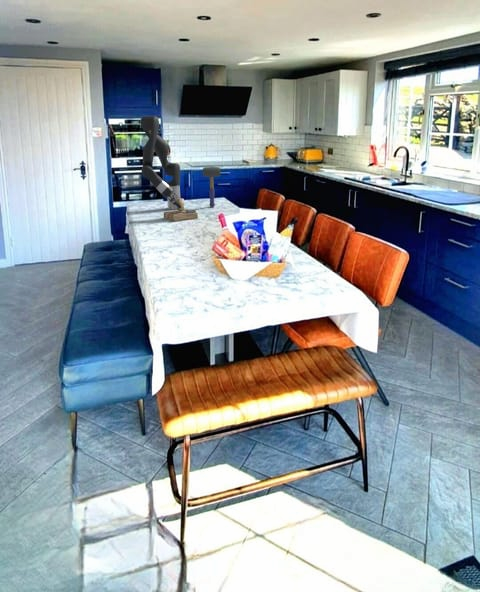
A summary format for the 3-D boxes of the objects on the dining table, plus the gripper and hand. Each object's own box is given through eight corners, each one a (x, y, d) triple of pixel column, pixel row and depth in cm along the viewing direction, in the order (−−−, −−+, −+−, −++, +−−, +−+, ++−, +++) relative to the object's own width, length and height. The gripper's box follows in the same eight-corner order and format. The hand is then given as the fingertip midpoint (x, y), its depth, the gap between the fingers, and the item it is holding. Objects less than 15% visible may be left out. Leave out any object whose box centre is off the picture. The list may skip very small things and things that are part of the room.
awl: (175, 216, 348) (175, 198, 344) (181, 215, 351) (181, 198, 347) (179, 217, 345) (178, 199, 340) (185, 216, 348) (185, 199, 343)
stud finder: (185, 212, 346) (185, 209, 345) (193, 211, 350) (193, 208, 349) (188, 213, 344) (188, 210, 343) (195, 212, 347) (195, 209, 346)
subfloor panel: (163, 217, 349) (163, 212, 347) (186, 214, 359) (186, 209, 358) (174, 221, 338) (174, 215, 336) (197, 218, 348) (197, 212, 346)
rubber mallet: (219, 206, 391) (218, 166, 380) (221, 207, 384) (220, 167, 373) (203, 206, 389) (202, 166, 378) (204, 208, 382) (203, 167, 371)
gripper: (166, 187, 335) (183, 204, 338) (171, 183, 348) (188, 201, 351) (158, 194, 337) (176, 212, 340) (163, 191, 350) (180, 208, 353)
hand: (182, 206), depth 345 cm, fingers open, 8 cm apart
